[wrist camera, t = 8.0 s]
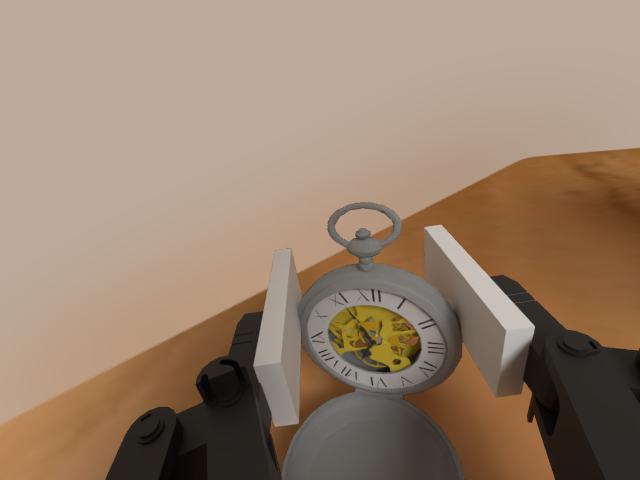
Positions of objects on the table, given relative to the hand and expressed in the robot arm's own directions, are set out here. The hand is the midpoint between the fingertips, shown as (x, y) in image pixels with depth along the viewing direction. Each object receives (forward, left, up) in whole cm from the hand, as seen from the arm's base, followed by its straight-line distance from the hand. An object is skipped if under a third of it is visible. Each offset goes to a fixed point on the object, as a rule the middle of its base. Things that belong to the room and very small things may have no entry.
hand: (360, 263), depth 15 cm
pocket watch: (+5, +2, -6) cm, 8 cm away
